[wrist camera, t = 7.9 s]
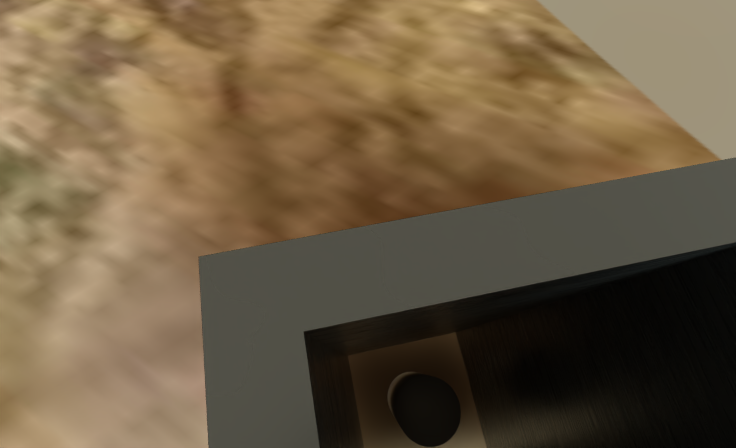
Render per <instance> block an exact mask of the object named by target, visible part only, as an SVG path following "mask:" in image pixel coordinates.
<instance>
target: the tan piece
mask: <svg viewBox="0 0 736 448" xmlns="http://www.w3.org/2000/svg"><path fill="white" fill-rule="evenodd" d="M348 358H349V364H350V370H351V375H352V381H353V387H354V392H355V398H356V404H357V410H358V415H359V421H360V427H361V432H362V438H363V444H364V448H487V446H486V443H485V439H484V435H483V432H482V428H481V424H480V421H479V417H478V413H477V410H476V406H475V402H474V399H473V395H472V391H471V388H470V384H469V380H468V377H467V373H466V369H465V366H464V362H463V358H462V355H461V351H460V347H459V344H458V340H457V336H456V333H451V334H446V335H442V336H437V337H432V338H428V339H423V340H418V341H414V342H409V343H404V344H400V345H395V346H390V347H386V348H381V349H376V350H372V351H367V352H362V353H358V354H353V355H348Z"/></svg>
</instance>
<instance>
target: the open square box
mask: <svg viewBox="0 0 736 448" xmlns="http://www.w3.org/2000/svg"><path fill="white" fill-rule="evenodd" d="M199 274H200V293H201V312H202V331H203V350H204V369H205V388H206V407H207V426H208V445H209V448H364V444H363V438H362V432H361V427H360V421H359V415H358V410H357V404H356V398H355V392H354V387H353V381H352V375H351V370H350V364H349V358H348V355H353V354H358V353H362V352H367V351H372V350H376V349H381V348H386V347H390V346H395V345H400V344H404V343H409V342H414V341H418V340H423V339H428V338H432V337H437V336H442V335H446V334H451V333H456V336H457V340H458V344H459V347H460V351H461V355H462V358H463V362H464V366H465V369H466V373H467V377H468V380H469V384H470V388H471V391H472V395H473V399H474V402H475V406H476V410H477V413H478V417H479V421H480V424H481V428H482V432H483V435H484V439H485V443H486V446H487V448H736V158H731V159H725V160H720V161H714V162H709V163H704V164H698V165H693V166H687V167H682V168H676V169H671V170H666V171H660V172H655V173H649V174H644V175H639V176H633V177H628V178H622V179H617V180H612V181H606V182H601V183H595V184H590V185H584V186H579V187H574V188H568V189H563V190H557V191H552V192H547V193H541V194H536V195H530V196H525V197H519V198H514V199H509V200H503V201H498V202H492V203H487V204H482V205H476V206H471V207H465V208H460V209H454V210H449V211H444V212H438V213H433V214H427V215H422V216H417V217H411V218H406V219H400V220H395V221H390V222H384V223H379V224H373V225H368V226H362V227H357V228H352V229H346V230H341V231H335V232H330V233H325V234H319V235H314V236H308V237H303V238H297V239H292V240H287V241H281V242H276V243H270V244H265V245H260V246H254V247H249V248H243V249H238V250H233V251H227V252H222V253H216V254H211V255H205V256H200V257H199Z"/></svg>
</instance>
